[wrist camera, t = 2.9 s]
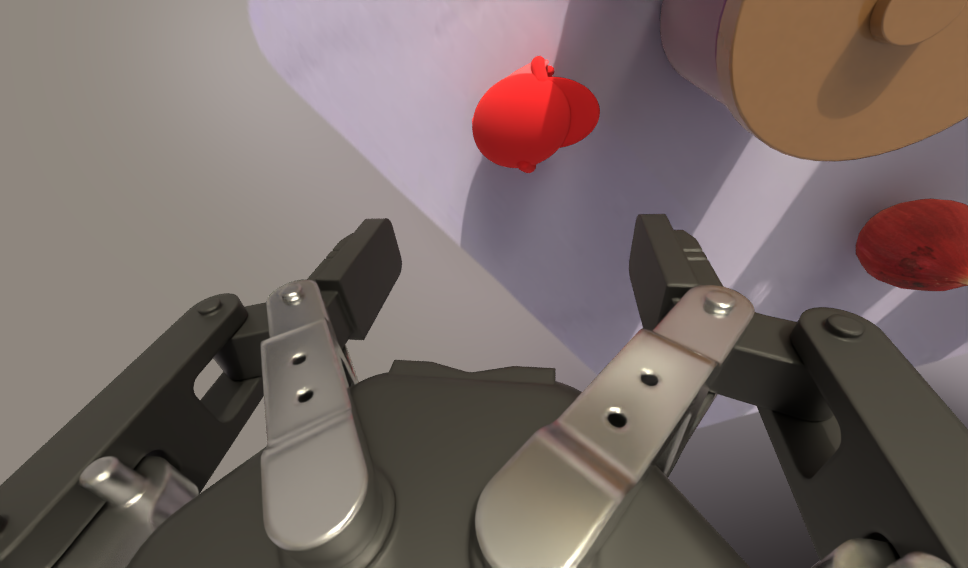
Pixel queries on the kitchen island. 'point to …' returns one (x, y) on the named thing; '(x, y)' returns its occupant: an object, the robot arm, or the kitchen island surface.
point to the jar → (826, 69)
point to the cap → (532, 116)
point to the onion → (917, 245)
